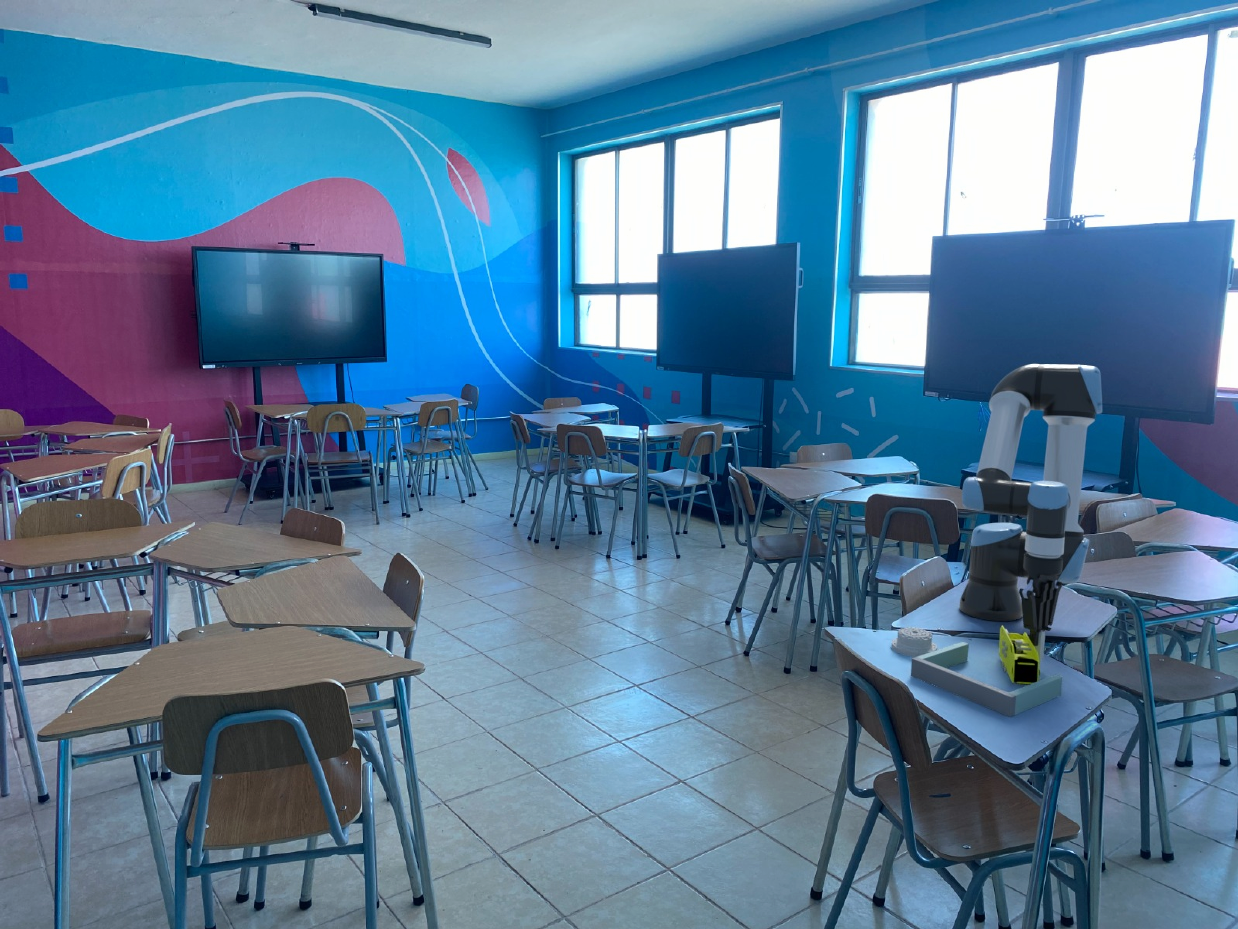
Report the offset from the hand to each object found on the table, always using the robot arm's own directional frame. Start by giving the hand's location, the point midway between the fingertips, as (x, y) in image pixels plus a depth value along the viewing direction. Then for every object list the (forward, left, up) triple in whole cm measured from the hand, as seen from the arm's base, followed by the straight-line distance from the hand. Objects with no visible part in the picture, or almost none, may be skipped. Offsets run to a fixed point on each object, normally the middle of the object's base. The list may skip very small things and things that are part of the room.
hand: (1035, 658), depth 189 cm
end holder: (+17, 0, -2) cm, 17 cm away
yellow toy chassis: (+6, 0, -2) cm, 6 cm away
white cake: (+13, -21, -3) cm, 25 cm away
